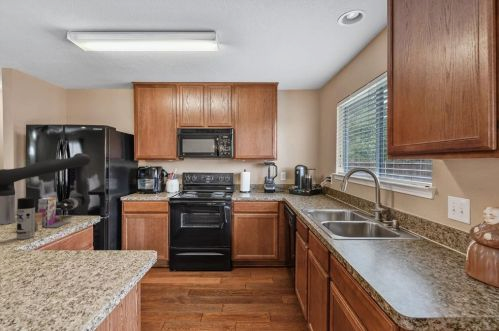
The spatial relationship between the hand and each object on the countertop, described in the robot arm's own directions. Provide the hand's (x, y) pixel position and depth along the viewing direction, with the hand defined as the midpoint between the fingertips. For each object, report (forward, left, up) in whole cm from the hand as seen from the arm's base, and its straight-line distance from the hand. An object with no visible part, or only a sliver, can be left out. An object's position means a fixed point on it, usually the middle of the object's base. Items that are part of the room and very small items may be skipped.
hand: (53, 208), depth 154 cm
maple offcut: (-1, -15, -9) cm, 18 cm away
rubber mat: (+6, -6, -9) cm, 13 cm away
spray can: (+6, -31, -9) cm, 33 cm away
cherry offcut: (-1, -15, -5) cm, 16 cm away
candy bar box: (0, -6, -9) cm, 11 cm away
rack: (-1, -9, -9) cm, 13 cm away
